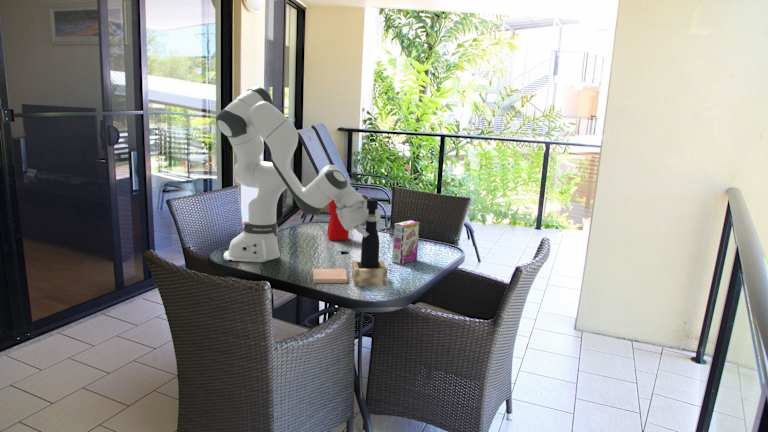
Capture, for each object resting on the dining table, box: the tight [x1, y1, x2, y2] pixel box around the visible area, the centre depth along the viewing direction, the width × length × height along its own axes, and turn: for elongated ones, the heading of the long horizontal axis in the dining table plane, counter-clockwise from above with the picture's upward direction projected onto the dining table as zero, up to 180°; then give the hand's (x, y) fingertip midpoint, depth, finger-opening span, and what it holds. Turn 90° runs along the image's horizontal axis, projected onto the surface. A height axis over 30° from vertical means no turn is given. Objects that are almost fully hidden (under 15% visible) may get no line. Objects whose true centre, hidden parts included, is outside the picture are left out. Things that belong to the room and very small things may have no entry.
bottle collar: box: [351, 260, 388, 287], centre depth 210 cm, size 12×12×6 cm
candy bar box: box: [391, 220, 420, 265], centre depth 236 cm, size 11×5×16 cm, turn 141°
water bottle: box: [324, 199, 350, 242], centre depth 267 cm, size 9×11×25 cm
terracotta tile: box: [312, 268, 348, 284], centre depth 213 cm, size 12×12×2 cm
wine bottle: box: [360, 198, 380, 269], centre depth 208 cm, size 6×6×30 cm
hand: (372, 234), depth 207 cm, fingers closed on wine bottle, 5 cm apart
